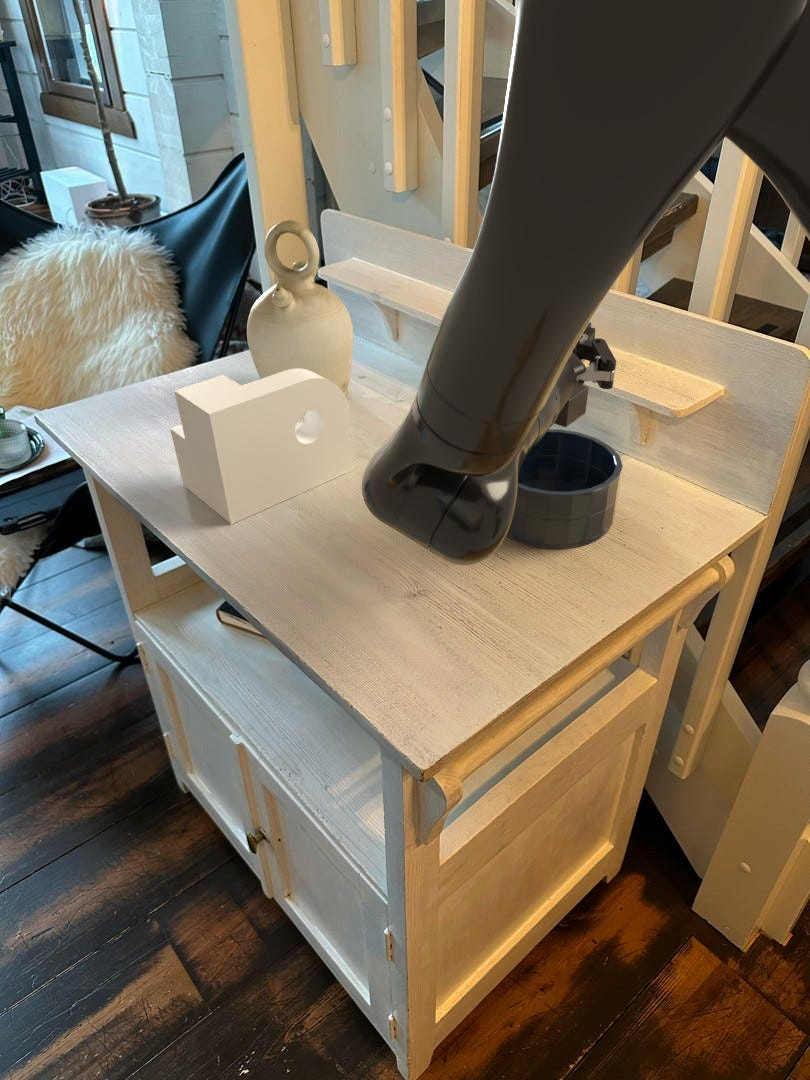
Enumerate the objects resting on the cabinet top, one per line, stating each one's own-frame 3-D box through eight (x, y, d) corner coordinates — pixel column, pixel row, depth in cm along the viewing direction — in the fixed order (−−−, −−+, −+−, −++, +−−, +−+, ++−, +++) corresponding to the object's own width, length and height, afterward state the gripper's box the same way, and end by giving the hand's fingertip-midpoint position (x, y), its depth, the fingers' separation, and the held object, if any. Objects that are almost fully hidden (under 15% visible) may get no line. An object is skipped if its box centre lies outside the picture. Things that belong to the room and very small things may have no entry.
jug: (297, 366, 124) (277, 203, 110) (376, 384, 118) (367, 214, 103) (235, 403, 114) (205, 228, 99) (319, 425, 107) (299, 242, 92)
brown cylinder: (585, 413, 79) (603, 276, 70) (565, 427, 76) (581, 288, 68) (544, 400, 81) (556, 267, 73) (523, 413, 79) (533, 278, 71)
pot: (635, 505, 89) (645, 453, 84) (572, 565, 80) (579, 510, 76) (530, 467, 96) (534, 417, 92) (463, 517, 88) (464, 465, 83)
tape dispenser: (231, 524, 88) (209, 414, 80) (183, 485, 95) (158, 380, 87) (354, 469, 97) (345, 365, 89) (301, 437, 104) (289, 338, 96)
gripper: (604, 369, 59) (647, 300, 72) (438, 344, 64) (505, 284, 77) (592, 453, 63) (634, 374, 76) (438, 424, 68) (502, 354, 81)
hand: (569, 329), depth 76 cm, fingers closed on brown cylinder, 3 cm apart
